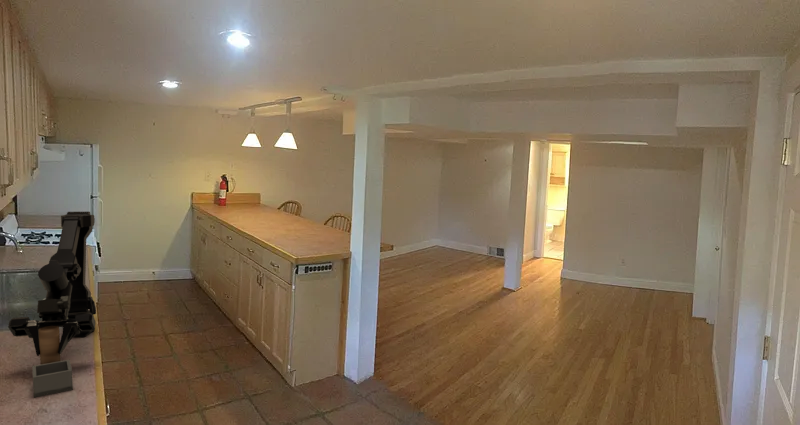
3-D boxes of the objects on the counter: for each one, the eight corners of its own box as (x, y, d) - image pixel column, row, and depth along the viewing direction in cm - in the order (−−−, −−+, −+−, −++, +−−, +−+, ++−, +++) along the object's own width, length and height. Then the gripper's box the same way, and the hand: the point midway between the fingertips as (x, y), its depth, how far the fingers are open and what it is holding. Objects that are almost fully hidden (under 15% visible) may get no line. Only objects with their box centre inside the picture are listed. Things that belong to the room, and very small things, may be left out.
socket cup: (33, 385, 132) (32, 366, 131) (70, 377, 136) (69, 359, 136) (33, 397, 125) (32, 377, 125) (72, 389, 130) (71, 370, 129)
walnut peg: (47, 373, 139) (45, 325, 137) (64, 373, 139) (62, 325, 137) (37, 380, 134) (34, 331, 133) (55, 380, 135) (52, 331, 133)
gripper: (8, 287, 134) (-5, 344, 125) (91, 283, 141) (84, 337, 132) (20, 308, 142) (8, 363, 133) (98, 303, 149) (92, 355, 140)
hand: (48, 354), depth 134 cm, fingers closed on walnut peg, 4 cm apart
